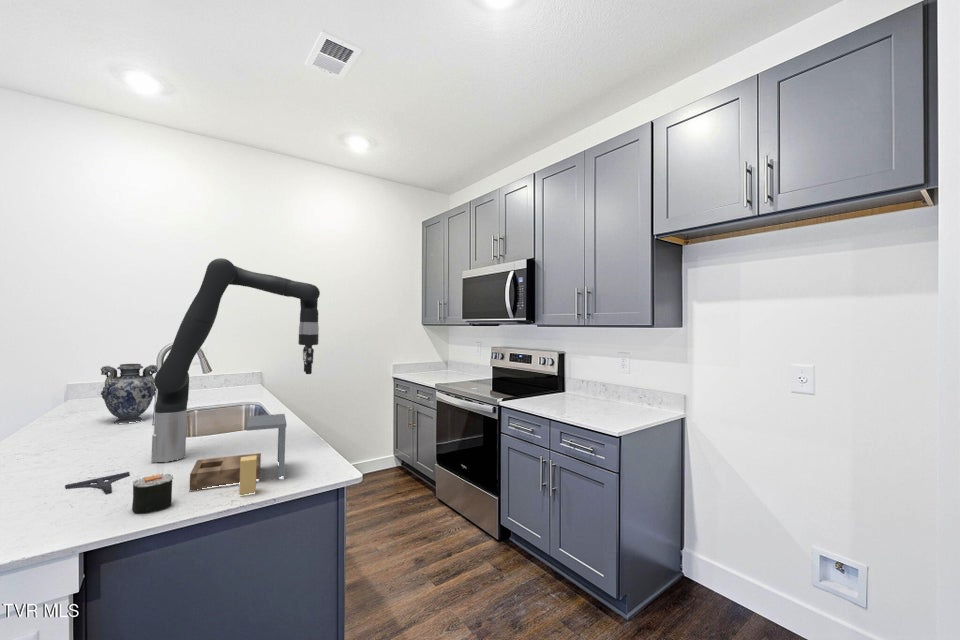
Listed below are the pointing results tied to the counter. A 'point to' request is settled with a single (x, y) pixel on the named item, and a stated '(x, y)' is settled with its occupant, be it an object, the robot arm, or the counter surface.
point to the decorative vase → (128, 391)
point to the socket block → (219, 471)
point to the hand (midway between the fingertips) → (307, 372)
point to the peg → (247, 475)
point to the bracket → (99, 482)
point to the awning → (271, 423)
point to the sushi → (152, 493)
